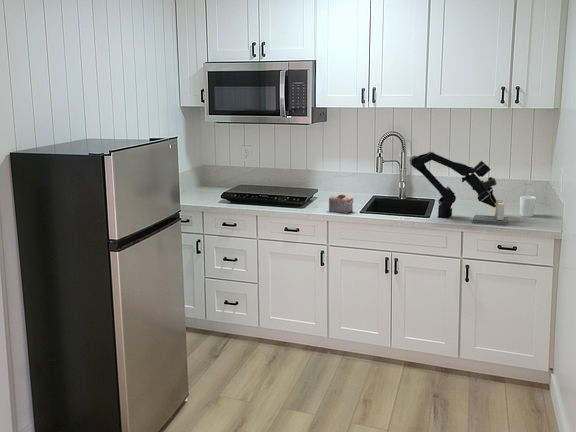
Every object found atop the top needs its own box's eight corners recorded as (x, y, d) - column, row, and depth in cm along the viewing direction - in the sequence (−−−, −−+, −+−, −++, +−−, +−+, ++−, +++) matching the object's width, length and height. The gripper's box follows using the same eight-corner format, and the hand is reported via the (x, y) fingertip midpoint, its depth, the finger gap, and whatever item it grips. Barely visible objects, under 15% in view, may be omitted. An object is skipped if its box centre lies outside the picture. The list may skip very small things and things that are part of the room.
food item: (354, 211, 332) (355, 194, 329) (350, 214, 325) (350, 196, 322) (332, 209, 337) (332, 192, 335) (327, 212, 330) (327, 195, 328)
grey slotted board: (472, 223, 299) (472, 219, 298) (475, 218, 309) (475, 214, 308) (505, 225, 292) (505, 221, 292) (507, 220, 302) (507, 216, 302)
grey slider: (496, 219, 295) (497, 204, 293) (497, 218, 298) (498, 202, 297) (502, 220, 294) (504, 204, 292) (503, 218, 297) (504, 203, 295)
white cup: (536, 215, 314) (538, 196, 311) (531, 217, 308) (532, 199, 306) (521, 213, 319) (523, 195, 316) (516, 215, 313) (517, 197, 311)
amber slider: (495, 216, 301) (496, 201, 299) (495, 215, 304) (496, 200, 302) (501, 217, 299) (502, 202, 298) (501, 215, 303) (502, 200, 301)
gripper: (485, 175, 296) (507, 198, 294) (489, 170, 313) (510, 191, 311) (468, 190, 301) (489, 212, 299) (473, 184, 317) (493, 205, 316)
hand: (496, 205), depth 306 cm, fingers open, 9 cm apart
